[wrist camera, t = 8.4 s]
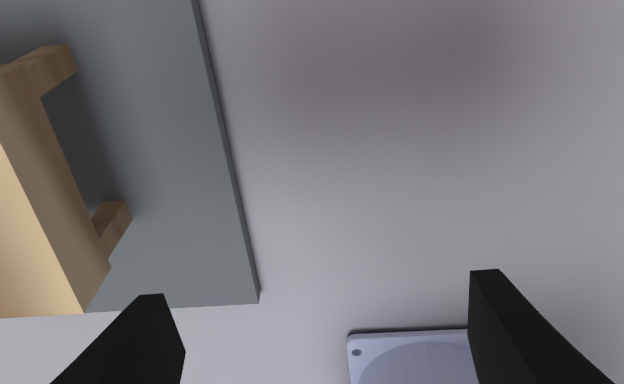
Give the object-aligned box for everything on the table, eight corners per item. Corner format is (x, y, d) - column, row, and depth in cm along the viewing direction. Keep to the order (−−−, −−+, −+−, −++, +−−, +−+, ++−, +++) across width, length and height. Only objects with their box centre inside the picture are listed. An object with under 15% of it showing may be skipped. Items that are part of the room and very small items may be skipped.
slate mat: (260, 291, 24) (258, 303, 23) (-3, 306, 25) (-13, 317, 25) (165, -146, 15) (157, -148, 14) (-241, -89, 16) (-267, -89, 15)
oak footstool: (71, 37, 17) (-27, 89, 13) (138, 223, 21) (84, 313, 17) (-60, 52, 18) (-200, 107, 13) (30, 231, 22) (-51, 321, 17)
